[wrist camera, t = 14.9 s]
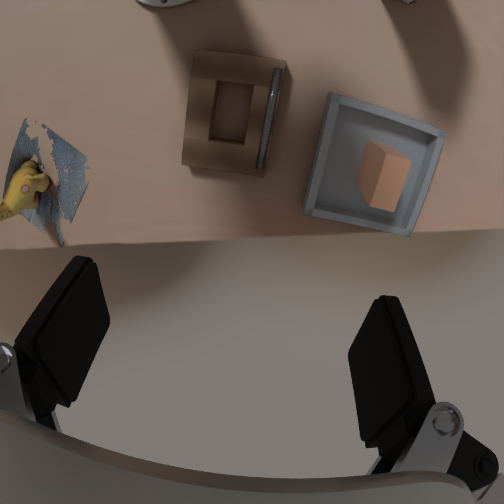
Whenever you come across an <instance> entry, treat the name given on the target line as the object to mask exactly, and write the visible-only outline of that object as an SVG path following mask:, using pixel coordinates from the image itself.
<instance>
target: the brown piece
mask: <svg viewBox="0 0 504 504" xmlns="http://www.w3.org/2000/svg"><path fill="white" fill-rule="evenodd" d="M285 65H286V61H283V60H278V59H272V58H266V57H259V56H253V55H245V54H237V53H228V52H218V51H205V50H195V53H194V59H193V66H192V73H191V80H190V88H189V95H188V103H187V112H186V121H185V130H184V140H183V151H182V163H181V165H186V166H194V167H201V168H208V169H214V170H221V171H227V172H234V173H240V174H246V175H252V176H257V177H263V178H264V176H265V171H266V165H267V160H268V155H269V149H270V144H271V139H272V133H273V128H274V123H275V118H276V112H277V107H278V102H279V96H280V91H281V86H282V81H283V75H284V70H285ZM219 81H228V82H236V83H243V84H250V85H254V89H253V95H252V101H251V107H250V113H249V119H248V125H247V131H246V137H245V142H240V141H233V140H226V139H219V138H212V137H211V136H212V128H213V121H214V113H215V106H216V99H217V92H218V86H219Z"/></svg>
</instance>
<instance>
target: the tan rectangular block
mask: <svg viewBox="0 0 504 504" xmlns="http://www.w3.org/2000/svg"><path fill="white" fill-rule="evenodd" d="M411 162H412V161H411V160H409V159H408V158H407V157H405V156H404V155H402V154H401V153H399V152H398V151H397V150H395V149H394V148H392V147H391V146H389V145H386V144H383V143H380V142H376V141H373V140H370V139H368V140H367V144H366V148H365V151H364V155H363V158H362V162H361V165H360V169H359V172H358V175H357V179H356V182H355V184H356V186H357V187H358V189H359V190H360V192H361V193H362V195H363V196H364V198H365V200H366V201H367V203H368V204H369V206H371V207H375V208H379V209H383V210H387V211H391V212H394V211H395V208H396V206H397V203H398V200H399V197H400V194H401V192H402V189H403V186H404V183H405V180H406V177H407V174H408V171H409V168H410V165H411Z"/></svg>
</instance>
